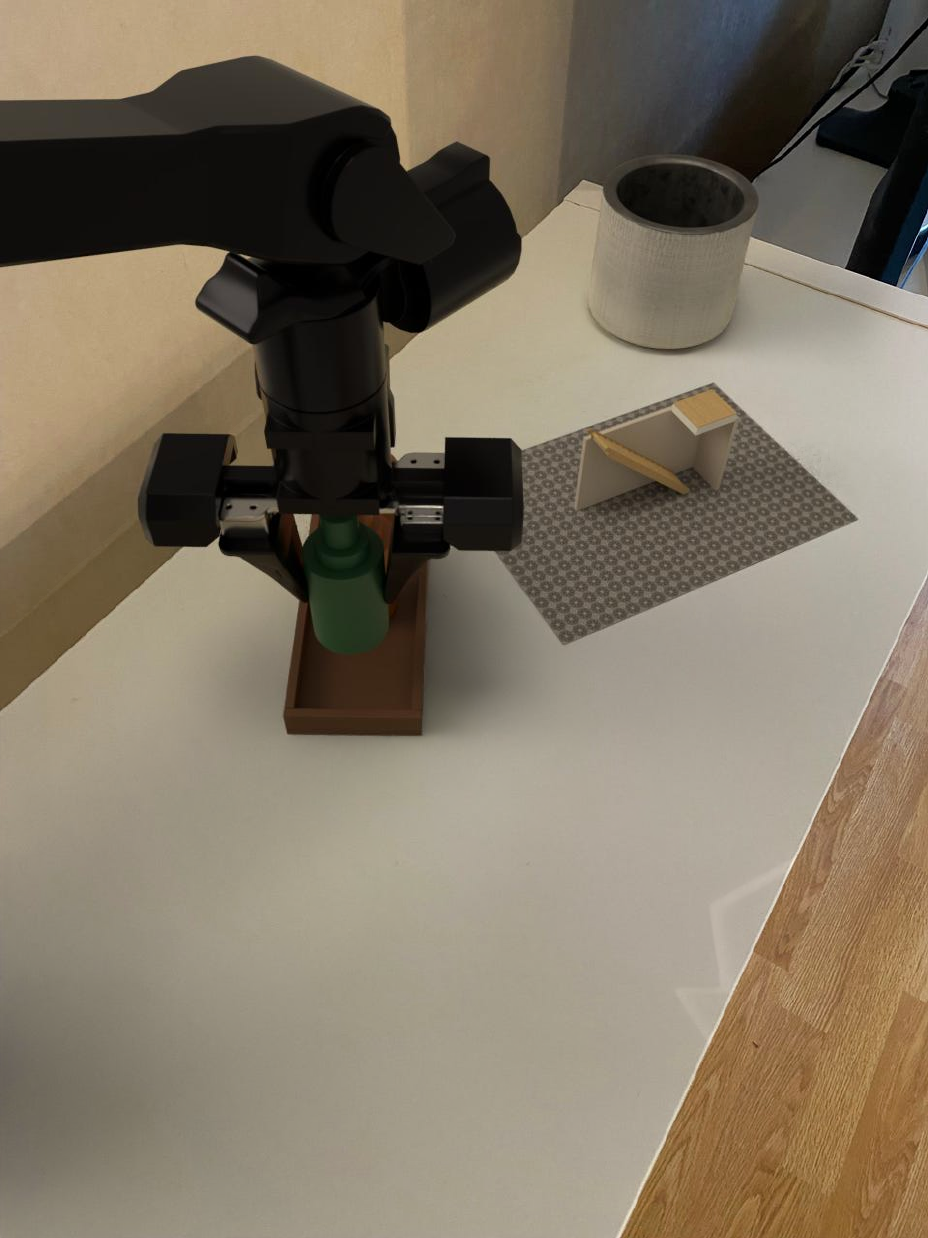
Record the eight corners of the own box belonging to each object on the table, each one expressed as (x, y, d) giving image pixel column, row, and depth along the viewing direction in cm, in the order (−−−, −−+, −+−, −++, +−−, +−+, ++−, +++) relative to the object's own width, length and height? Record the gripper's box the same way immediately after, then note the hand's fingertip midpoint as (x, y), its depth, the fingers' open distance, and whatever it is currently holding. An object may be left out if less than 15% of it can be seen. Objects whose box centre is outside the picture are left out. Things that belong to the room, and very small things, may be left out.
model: (719, 489, 75) (742, 407, 69) (597, 536, 72) (611, 455, 66) (693, 462, 77) (714, 380, 71) (573, 508, 74) (584, 426, 68)
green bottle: (331, 665, 58) (314, 552, 50) (302, 612, 60) (282, 496, 53) (401, 638, 59) (394, 523, 52) (370, 586, 61) (359, 470, 54)
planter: (567, 334, 87) (580, 212, 78) (611, 259, 94) (627, 140, 86) (710, 370, 84) (740, 248, 76) (744, 290, 92) (775, 170, 83)
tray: (422, 736, 62) (421, 717, 60) (287, 734, 62) (282, 716, 60) (431, 501, 74) (430, 481, 73) (319, 499, 74) (316, 479, 73)
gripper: (524, 274, 51) (509, 499, 63) (150, 269, 51) (208, 495, 63) (532, 420, 44) (514, 642, 56) (98, 414, 44) (174, 638, 56)
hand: (348, 597), depth 58 cm, fingers closed on green bottle, 4 cm apart
